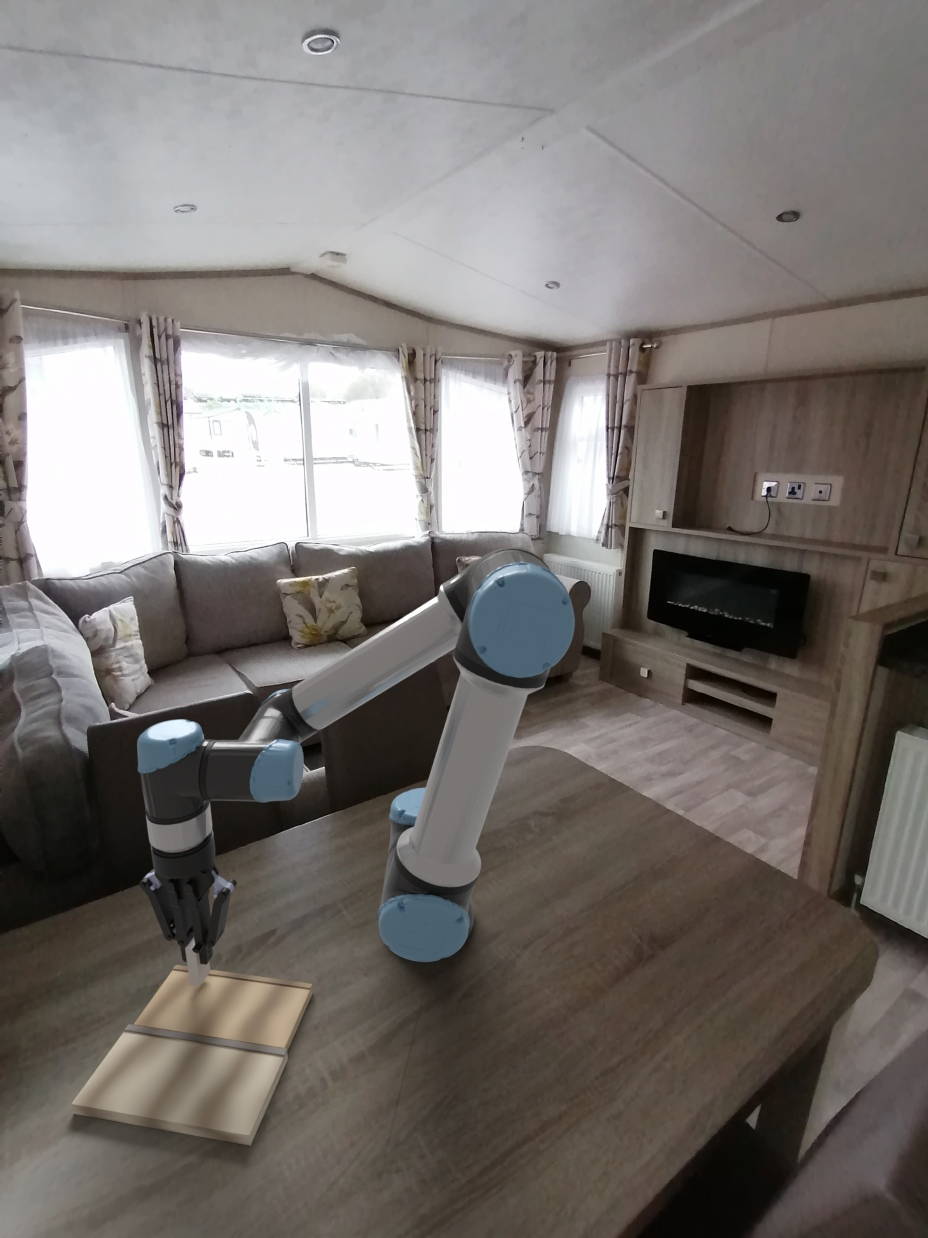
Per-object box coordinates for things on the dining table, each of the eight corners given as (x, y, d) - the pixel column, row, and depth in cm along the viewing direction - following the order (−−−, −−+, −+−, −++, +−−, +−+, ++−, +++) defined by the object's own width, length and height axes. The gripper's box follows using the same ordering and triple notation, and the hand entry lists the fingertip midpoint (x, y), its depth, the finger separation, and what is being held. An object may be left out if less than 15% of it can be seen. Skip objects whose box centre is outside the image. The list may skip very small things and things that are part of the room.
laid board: (287, 1059, 78) (286, 1049, 77) (250, 1146, 68) (249, 1134, 68) (130, 1034, 81) (128, 1024, 80) (73, 1114, 71) (70, 1102, 71)
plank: (313, 992, 87) (312, 983, 87) (285, 1056, 78) (284, 1047, 78) (177, 973, 90) (175, 964, 89) (135, 1033, 81) (133, 1023, 80)
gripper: (242, 824, 82) (256, 963, 89) (154, 814, 84) (173, 951, 91) (213, 860, 75) (230, 1008, 82) (116, 848, 77) (141, 994, 84)
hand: (200, 978), depth 86 cm, fingers closed
